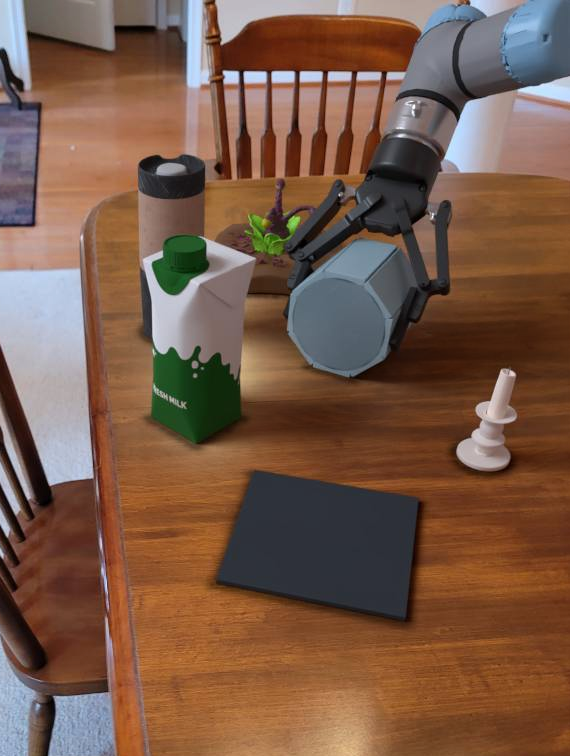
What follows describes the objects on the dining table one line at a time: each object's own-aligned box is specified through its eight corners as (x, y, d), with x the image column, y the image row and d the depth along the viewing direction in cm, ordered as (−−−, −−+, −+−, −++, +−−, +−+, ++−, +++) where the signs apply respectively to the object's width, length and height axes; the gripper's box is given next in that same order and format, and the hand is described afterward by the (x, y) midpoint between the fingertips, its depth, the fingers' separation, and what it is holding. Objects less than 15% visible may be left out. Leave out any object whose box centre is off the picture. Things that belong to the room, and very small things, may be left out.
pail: (317, 324, 106) (329, 230, 98) (409, 348, 101) (429, 252, 93) (284, 359, 99) (293, 262, 91) (379, 386, 95) (399, 287, 87)
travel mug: (173, 351, 101) (174, 181, 87) (128, 330, 105) (122, 165, 91) (214, 328, 105) (220, 163, 92) (169, 309, 109) (169, 147, 95)
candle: (494, 438, 87) (522, 350, 80) (518, 468, 83) (550, 378, 76) (447, 444, 87) (471, 355, 80) (469, 474, 83) (496, 384, 76)
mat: (417, 501, 80) (418, 497, 79) (404, 621, 69) (406, 617, 68) (253, 473, 83) (254, 469, 83) (215, 583, 72) (215, 579, 72)
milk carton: (138, 417, 91) (132, 236, 77) (196, 386, 95) (200, 210, 82) (196, 451, 86) (201, 265, 72) (254, 416, 91) (269, 235, 77)
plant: (347, 241, 124) (358, 163, 117) (345, 301, 110) (357, 217, 103) (214, 232, 127) (216, 155, 119) (195, 290, 113) (196, 207, 105)
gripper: (303, 117, 95) (234, 295, 96) (520, 152, 86) (442, 349, 86) (317, 152, 102) (252, 318, 103) (519, 189, 93) (446, 371, 93)
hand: (339, 333), depth 95 cm, fingers closed on pail, 12 cm apart
